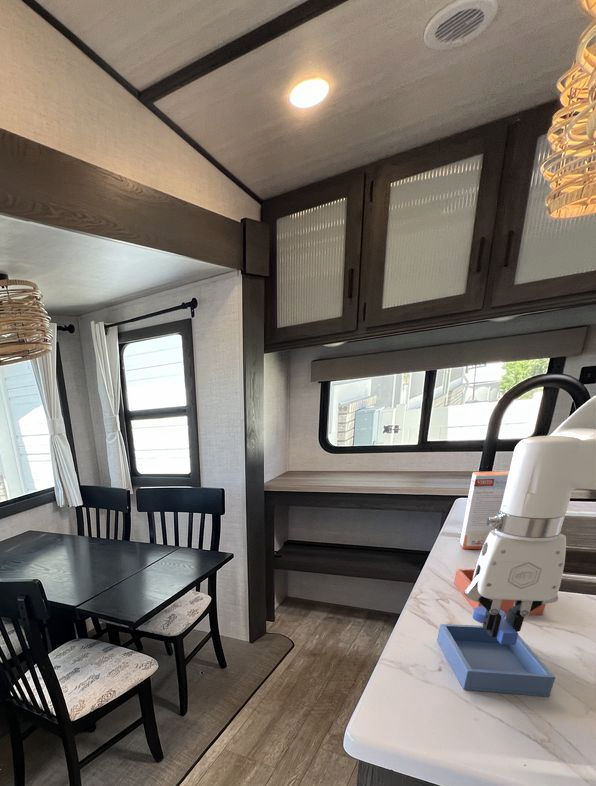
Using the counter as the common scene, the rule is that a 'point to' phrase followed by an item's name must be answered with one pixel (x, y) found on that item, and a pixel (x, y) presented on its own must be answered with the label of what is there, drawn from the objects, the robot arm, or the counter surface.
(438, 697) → the counter surface
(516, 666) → the blue bin
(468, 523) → the cracker box
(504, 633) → the blue keyhole shape
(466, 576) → the terracotta bin
